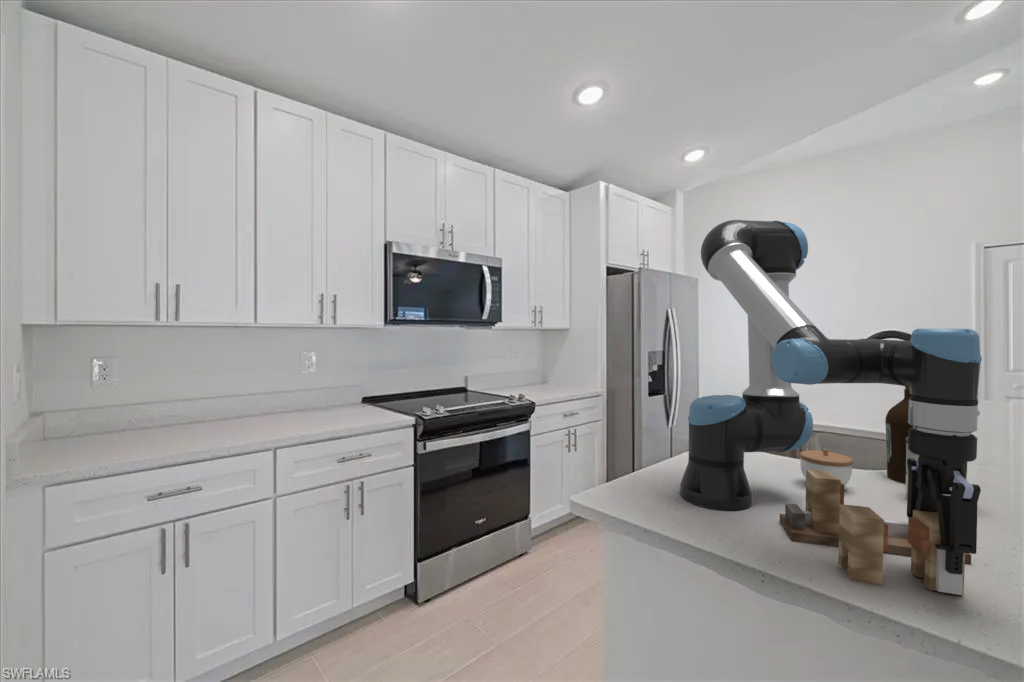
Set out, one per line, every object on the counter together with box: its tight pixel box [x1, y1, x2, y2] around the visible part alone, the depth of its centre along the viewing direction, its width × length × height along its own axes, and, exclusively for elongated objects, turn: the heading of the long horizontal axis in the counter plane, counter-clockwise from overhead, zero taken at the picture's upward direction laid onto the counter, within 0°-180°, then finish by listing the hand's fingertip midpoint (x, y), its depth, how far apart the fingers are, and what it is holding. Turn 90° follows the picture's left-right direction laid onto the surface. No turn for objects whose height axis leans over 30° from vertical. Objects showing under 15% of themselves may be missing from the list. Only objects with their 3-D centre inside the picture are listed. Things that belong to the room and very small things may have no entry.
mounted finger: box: [804, 470, 845, 534], centre depth 85 cm, size 5×5×10 cm
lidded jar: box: [799, 448, 854, 487], centre depth 111 cm, size 11×11×9 cm
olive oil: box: [884, 386, 913, 484], centre depth 116 cm, size 11×11×25 cm
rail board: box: [779, 502, 972, 565], centre depth 83 cm, size 26×9×4 cm, turn 72°
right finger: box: [907, 510, 966, 596], centre depth 68 cm, size 5×5×10 cm
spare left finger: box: [837, 504, 888, 586], centre depth 71 cm, size 5×5×10 cm
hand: (936, 580), depth 68 cm, fingers closed on right finger, 5 cm apart
